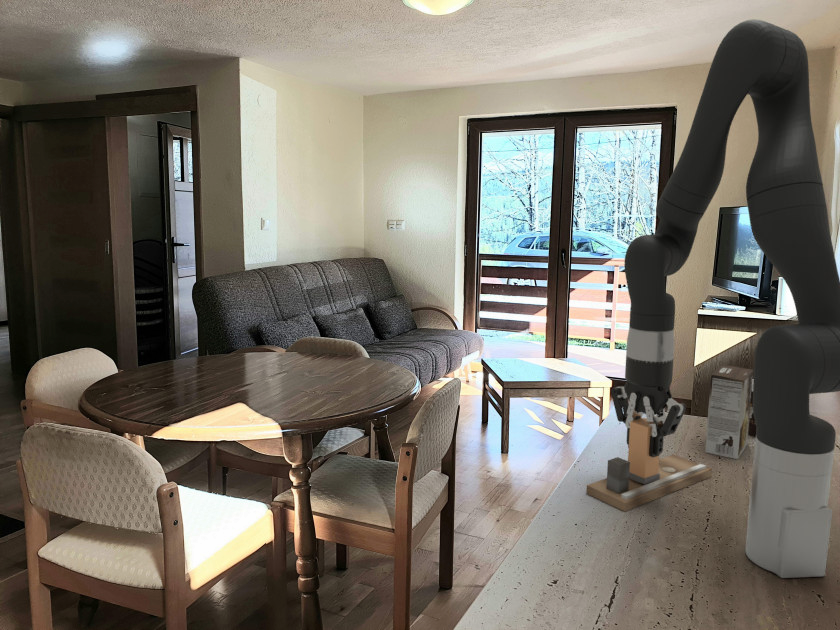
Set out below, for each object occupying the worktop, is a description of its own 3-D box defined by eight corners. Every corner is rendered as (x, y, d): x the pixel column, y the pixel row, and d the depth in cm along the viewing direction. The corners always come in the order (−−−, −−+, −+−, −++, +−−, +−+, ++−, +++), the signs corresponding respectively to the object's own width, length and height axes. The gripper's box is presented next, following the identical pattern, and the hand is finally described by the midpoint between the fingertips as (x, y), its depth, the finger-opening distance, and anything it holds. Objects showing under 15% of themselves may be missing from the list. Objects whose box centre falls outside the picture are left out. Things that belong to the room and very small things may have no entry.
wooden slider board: (672, 462, 125) (674, 429, 124) (711, 476, 119) (714, 442, 118) (586, 493, 112) (587, 457, 111) (624, 511, 106) (626, 473, 104)
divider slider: (640, 471, 116) (643, 417, 115) (659, 479, 113) (663, 423, 111) (625, 476, 114) (628, 421, 112) (644, 484, 111) (648, 428, 109)
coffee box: (714, 439, 137) (720, 364, 134) (747, 445, 134) (754, 368, 131) (703, 452, 130) (709, 373, 127) (739, 460, 126) (746, 378, 123)
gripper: (701, 359, 106) (694, 460, 109) (629, 344, 118) (624, 435, 121) (673, 366, 102) (666, 471, 105) (601, 349, 114) (596, 444, 117)
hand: (643, 451), depth 113 cm, fingers closed on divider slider, 3 cm apart
